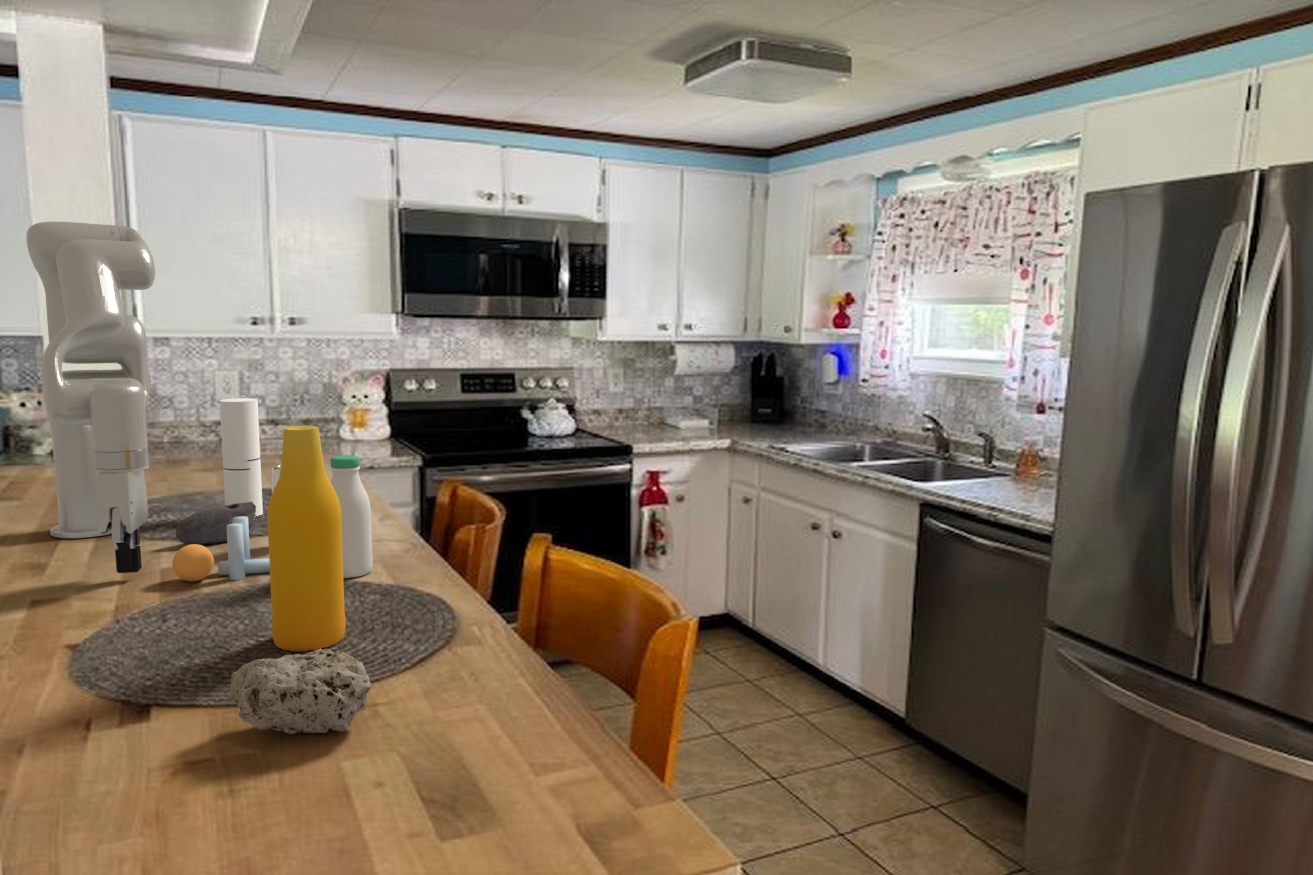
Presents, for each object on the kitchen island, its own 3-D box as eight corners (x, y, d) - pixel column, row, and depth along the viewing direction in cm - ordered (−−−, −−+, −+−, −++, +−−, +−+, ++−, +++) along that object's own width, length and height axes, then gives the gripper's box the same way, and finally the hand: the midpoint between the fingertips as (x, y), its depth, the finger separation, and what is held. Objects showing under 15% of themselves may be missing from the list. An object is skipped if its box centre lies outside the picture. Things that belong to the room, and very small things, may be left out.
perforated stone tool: (180, 551, 161) (178, 514, 160) (172, 546, 165) (169, 509, 164) (265, 538, 172) (263, 503, 171) (255, 533, 175) (253, 498, 174)
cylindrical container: (270, 516, 189) (264, 399, 185) (238, 522, 183) (232, 402, 179) (250, 511, 192) (244, 397, 189) (218, 517, 187) (212, 400, 183)
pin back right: (236, 567, 152) (233, 516, 150) (251, 567, 152) (249, 516, 151) (233, 571, 149) (231, 519, 148) (249, 571, 150) (246, 519, 149)
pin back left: (230, 576, 147) (228, 523, 145) (246, 575, 147) (243, 522, 146) (227, 580, 144) (225, 527, 143) (243, 579, 145) (241, 526, 144)
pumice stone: (229, 763, 87) (224, 686, 86) (233, 713, 98) (229, 644, 97) (376, 738, 93) (374, 666, 92) (364, 693, 104) (362, 628, 102)
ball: (228, 557, 147) (201, 572, 148) (202, 531, 145) (175, 546, 146) (211, 578, 142) (184, 594, 143) (184, 552, 139) (157, 568, 141)
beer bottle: (272, 632, 122) (262, 424, 118) (343, 624, 126) (336, 422, 122) (272, 656, 114) (262, 433, 110) (348, 647, 117) (341, 431, 113)
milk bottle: (382, 569, 152) (379, 455, 149) (349, 581, 145) (345, 461, 142) (348, 563, 155) (344, 451, 152) (314, 575, 148) (309, 457, 145)
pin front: (220, 559, 148) (278, 556, 151) (221, 574, 149) (278, 570, 151) (217, 562, 146) (276, 559, 149) (218, 576, 146) (277, 573, 149)
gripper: (110, 453, 147) (118, 560, 150) (78, 469, 133) (87, 586, 136) (160, 452, 149) (167, 557, 152) (133, 467, 135) (141, 583, 138)
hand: (129, 570), depth 144 cm, fingers closed
